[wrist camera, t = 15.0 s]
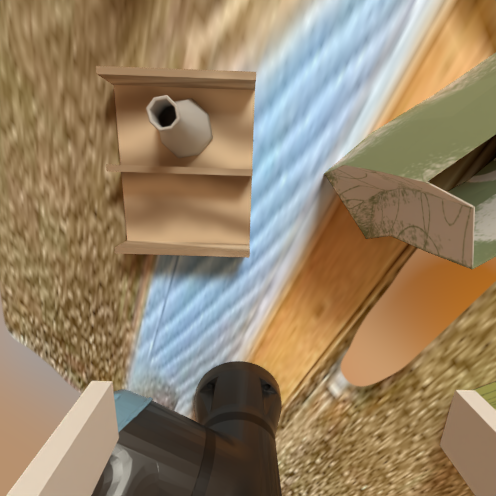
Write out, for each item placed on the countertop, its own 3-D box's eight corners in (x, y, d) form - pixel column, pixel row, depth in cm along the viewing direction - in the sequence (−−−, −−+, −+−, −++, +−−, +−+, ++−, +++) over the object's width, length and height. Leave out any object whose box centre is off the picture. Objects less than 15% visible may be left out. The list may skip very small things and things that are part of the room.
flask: (176, 167, 37) (152, 165, 28) (147, 116, 36) (110, 96, 26) (222, 141, 36) (213, 130, 27) (194, 88, 35) (174, 55, 25)
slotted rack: (249, 247, 42) (249, 257, 37) (131, 243, 41) (115, 253, 36) (254, 86, 36) (256, 71, 31) (117, 81, 36) (96, 65, 31)
